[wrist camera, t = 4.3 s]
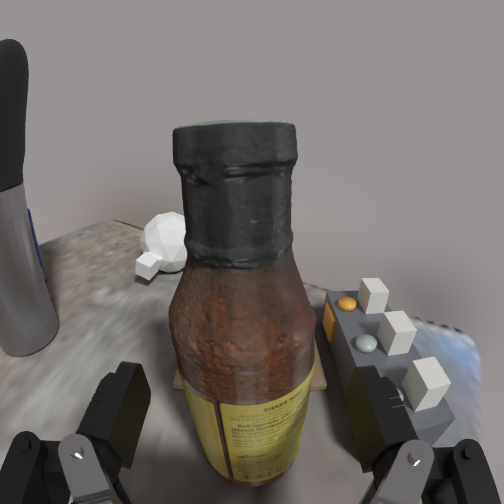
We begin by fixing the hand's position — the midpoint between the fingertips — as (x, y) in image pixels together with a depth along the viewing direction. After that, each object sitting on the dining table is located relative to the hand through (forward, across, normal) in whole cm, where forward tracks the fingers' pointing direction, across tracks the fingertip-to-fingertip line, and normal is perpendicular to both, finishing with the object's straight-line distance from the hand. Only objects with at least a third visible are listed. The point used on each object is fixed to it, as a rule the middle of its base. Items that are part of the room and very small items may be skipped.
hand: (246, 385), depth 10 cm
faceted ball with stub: (+30, +13, +11) cm, 35 cm away
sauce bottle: (+2, 0, +11) cm, 11 cm away
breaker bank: (+9, -11, +11) cm, 18 cm away
